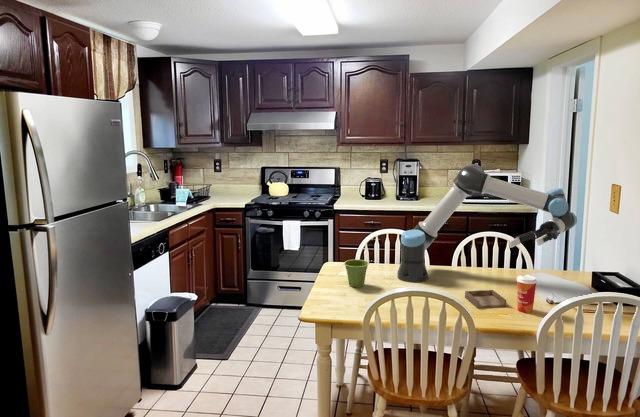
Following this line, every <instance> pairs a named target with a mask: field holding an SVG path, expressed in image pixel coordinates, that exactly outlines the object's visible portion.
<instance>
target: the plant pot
mask: <svg viewBox="0 0 640 417" xmlns="http://www.w3.org/2000/svg"><path fill="white" fill-rule="evenodd" d="M369 264H370V263H369V261H367V260H364V259H348V260H346V261H344V263H343V265H344V266H345V269H346V270H345V271H346V275H347V280H348V285H349V287H352V288H362V287H364V285H365V282H366V275H367V269H368V265H369Z"/></svg>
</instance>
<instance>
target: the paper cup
mask: <svg viewBox="0 0 640 417" xmlns="http://www.w3.org/2000/svg"><path fill="white" fill-rule="evenodd" d="M516 281H517V282H516V286H517V289H516V290H517V293H516V294H517V296H516V297H517V298H516V299H517V300H516V301H517V305H516V306H517V311H519V312H520V313H522V314H523V313H525V314H531V313H533V310H534V304H535V295H536V287H537V283H538V280H537V277H535V276H532V275H528V274H527V275H526V274H525V275H521V274H520V275H518V276H517V278H516Z"/></svg>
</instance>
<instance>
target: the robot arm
mask: <svg viewBox="0 0 640 417" xmlns="http://www.w3.org/2000/svg"><path fill="white" fill-rule="evenodd" d="M475 193H477V194H481V195H484V194H488V195H491V196H495V197H496V198H497V197H498V198H501V199H505V200H508V201H510V202H515V203H517V204H521V205H525V206H527V207H531V208H534V209H537V210H541V211H544V212H546V213H550V215H551V217H552V218H551V219H549V220H547V221H545V222H543V223H542V224H540V226H539V228H538V229H535V230H530V231H528V232H526V233H523V234H519V235H517V236H514V237H512V239H511V240H510V241H508V246H509V248H510V249H511V248H514V247H516V246H518V245H520V244H521V243H524V242H527V241H531V240H535V241H536V244H537V246H539V247H540V246H542V245H543V244H546V243H547V242H549V241H552V240H557V239H558V237H559V236H560V235H561V234H562V233H564V232H566V231H568V230H571V229H572V228H573V227H575V226H576V225H577V223H578V217H577V215H576V214H575V213H574V212H572V211H570V209H569V203H568V202H567V198H566V194H565V193H564V189H562V188H554V189H550V190H547V191H546V192H542V191H540V190H535V189H533V188H529V187H525V186H521V185H518V184H515V183H513V182H508V181H505V180H501V179H498V178H494V177H492V176H491V175H490V174H489V173H486V172H485V170H484V168H483V167H482V166H480V165H478V164H474V163H470V164H467V165H465V166H464V167H462V168H461V169H460V170H459V171H458V173H457V175H456V177H455V178H454V179H453V181H452V187H451V188H450V189H449V190H448V192H446V193H445V195H444V196H443V198H441V200H440V201H439V202H438V203H437V204H436V206H435V207H434V208H433V209H432V211H431V212H430V213H429V214H428V216H426V218H425V219H424V220H423V221H419V222H418V223H417V224H416V225H415V227H414V228H412V229H409V230H404V231H403V232H402V233H401V236H400V251H401V252H400V264H399V267H398V270H397V273H396V274H397V275H396V276H397V278H398V280H401V281H404V282H409V283H411V282H412V283H417V282H418V283H420V282H424V281H427V280H428V279H429V274H428V270H427V266H426V263H425V260H426V259H425V257H426V256H425V255H426V254H425V253H426V250H427V249H428V248H429V247H430V246H431V245H432V243H433V242H434V240H436V239H437V237H438V231H440V229H441V227H443V226H444V224H445V223H447V221H448V220H449V218H450V217H451V216H452V214H454V212H455V211H456V210H457V209H458V208H459V206H460V205H462V203H463V202H464V201H465V199H466V198H468V197H472V196H473V195H474V194H475Z"/></svg>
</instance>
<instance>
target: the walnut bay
mask: <svg viewBox="0 0 640 417" xmlns="http://www.w3.org/2000/svg"><path fill="white" fill-rule="evenodd" d="M464 298H465V299H466V300H467V301H468V302H469V303H470V304H471V305H472V306H474V307H475V308H476V309H486V308H487V309H488V308H489V309H493V308H506V307H507V299H506V298H505V297H503V296H502V295H501V294H499V293H498V292H497V291H496V290H494V289H482V290H480V289H479V290H465V291H464Z"/></svg>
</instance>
